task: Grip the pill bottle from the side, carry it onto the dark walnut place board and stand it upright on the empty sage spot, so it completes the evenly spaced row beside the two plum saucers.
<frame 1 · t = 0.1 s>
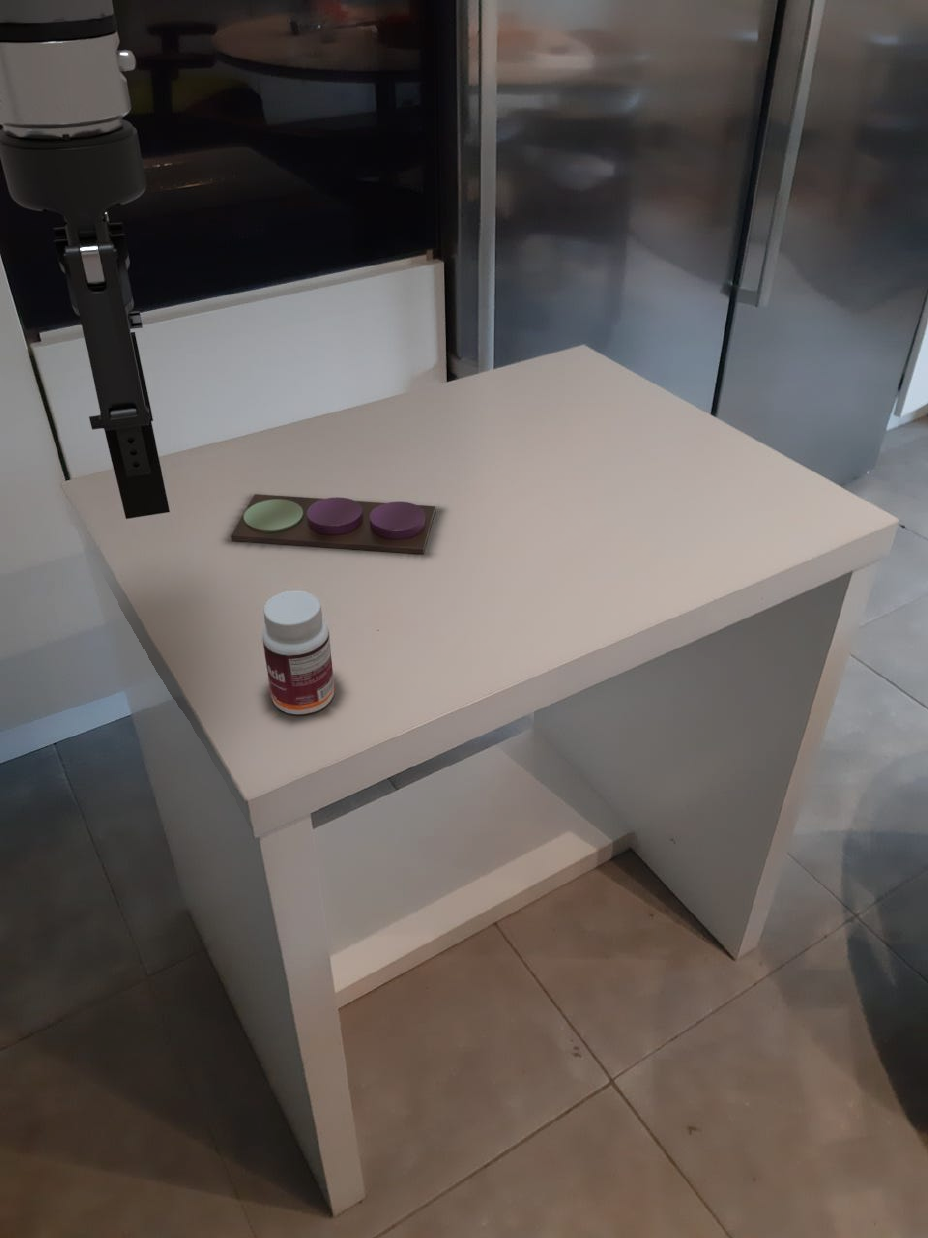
hand: (140, 464, 67), 17 cm above the table, tool pointing down, fingers open, 13 cm apart
pill bottle: (303, 697, 74), on the table
place board: (335, 525, 93), on the table
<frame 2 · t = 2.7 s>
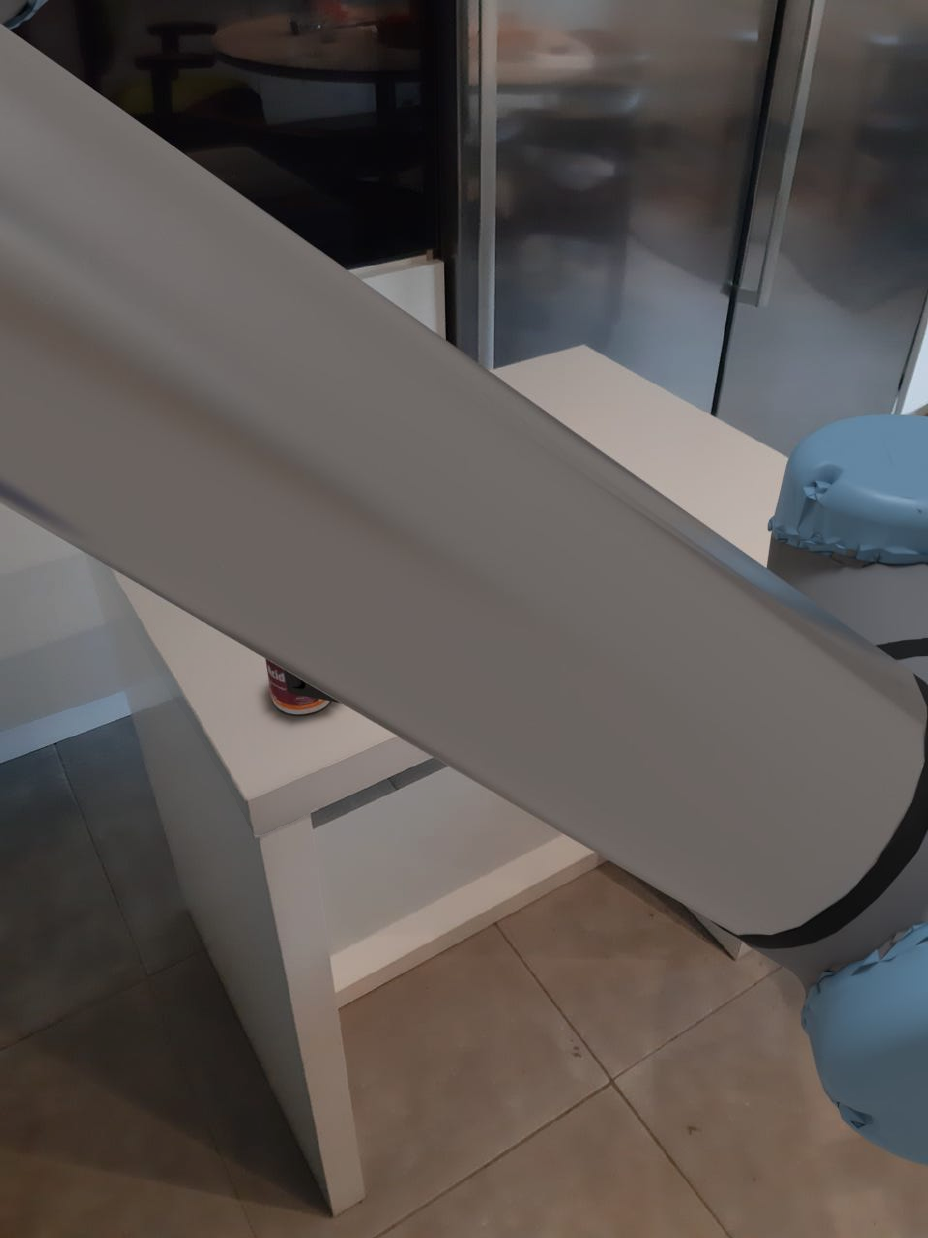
hand: (341, 535, 58), 18 cm above the table, tool horizontal, fingers open, 13 cm apart
nothing on the table moved.
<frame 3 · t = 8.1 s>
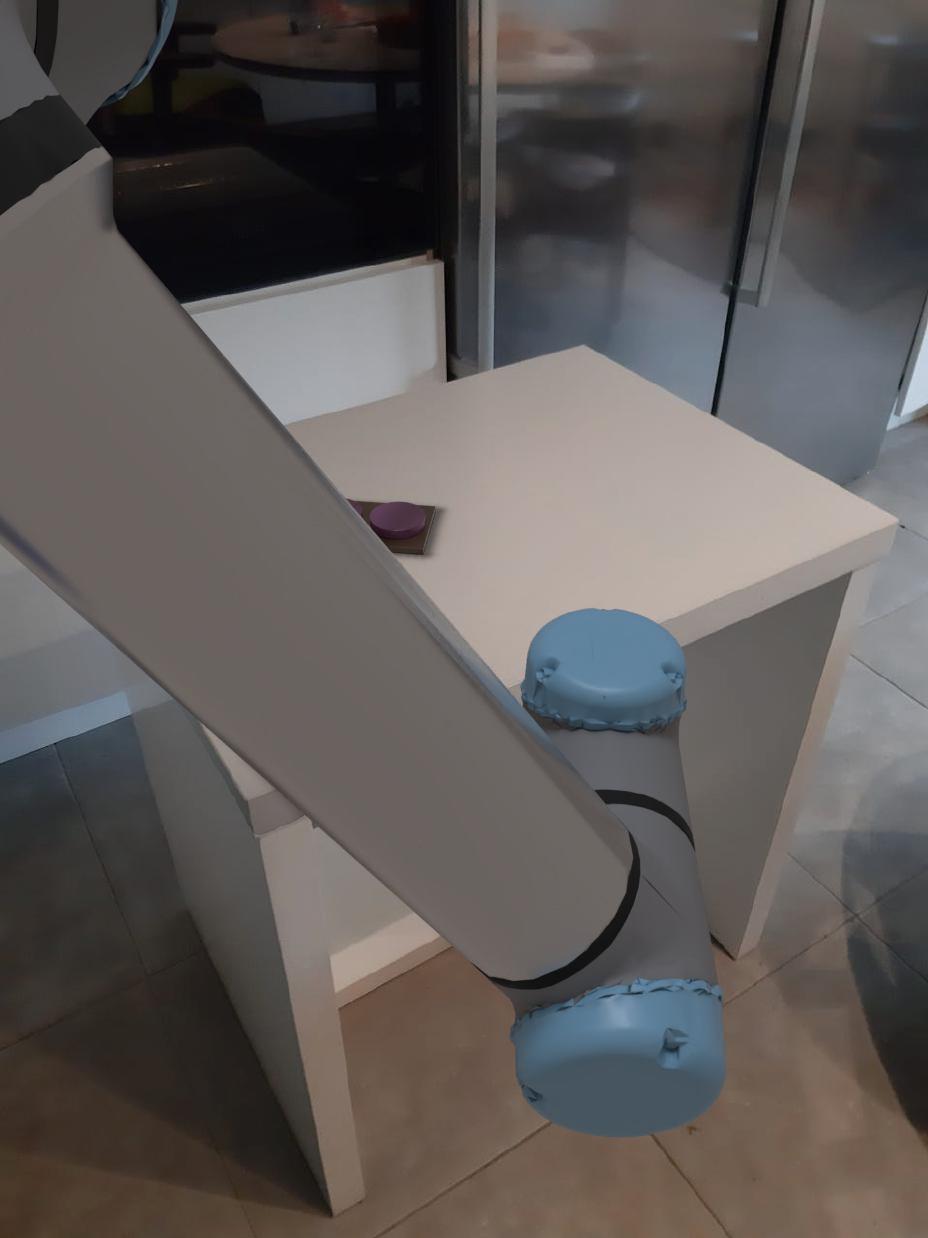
hand: (254, 600, 73), 6 cm above the table, tool horizontal, fingers closed on pill bottle, 5 cm apart
pill bottle: (303, 697, 74), on the table, touching gripper
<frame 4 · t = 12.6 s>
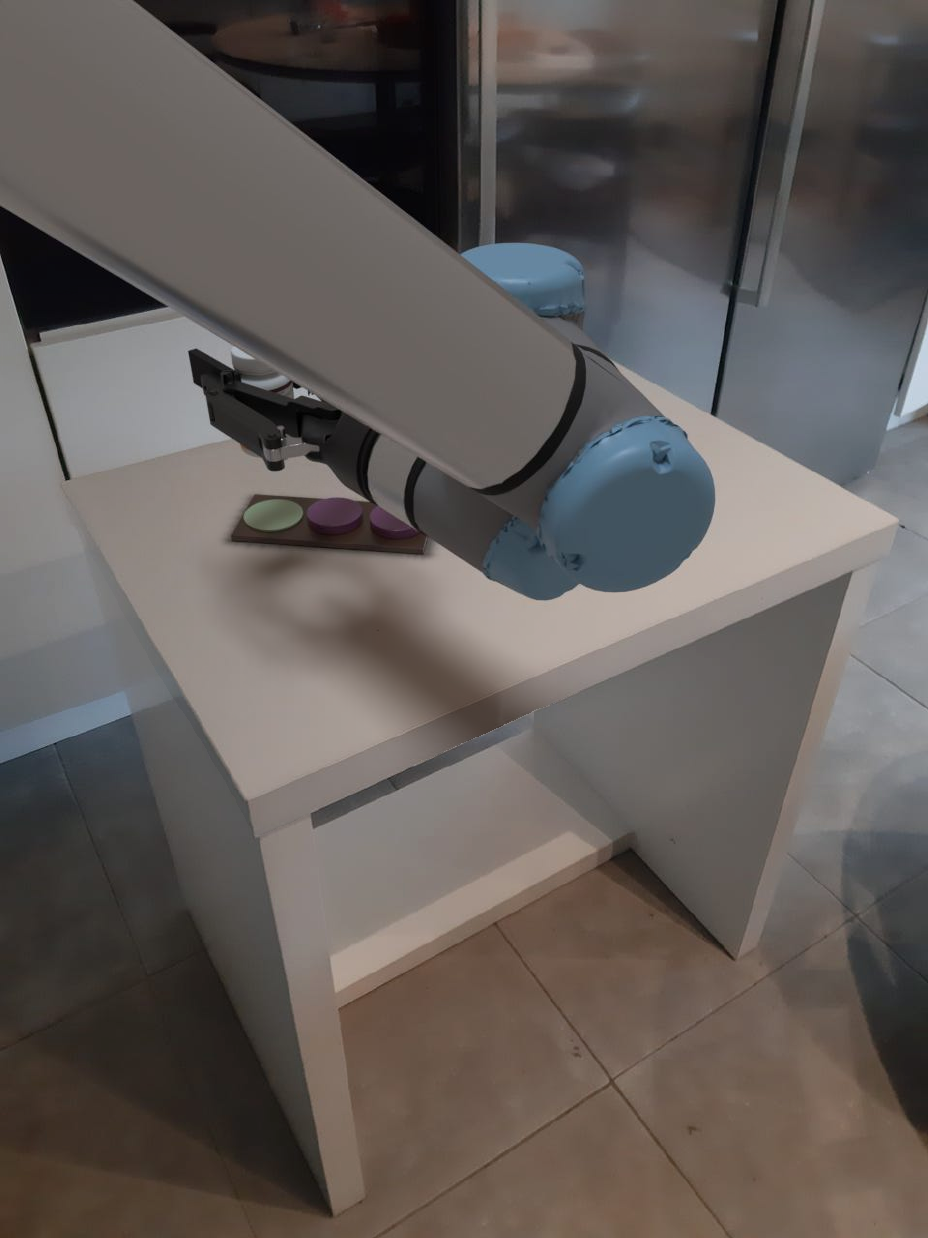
hand: (225, 356, 80), 18 cm above the table, tool horizontal, fingers closed on pill bottle, 5 cm apart
pill bottle: (270, 448, 80), point 12 cm above the table, touching gripper
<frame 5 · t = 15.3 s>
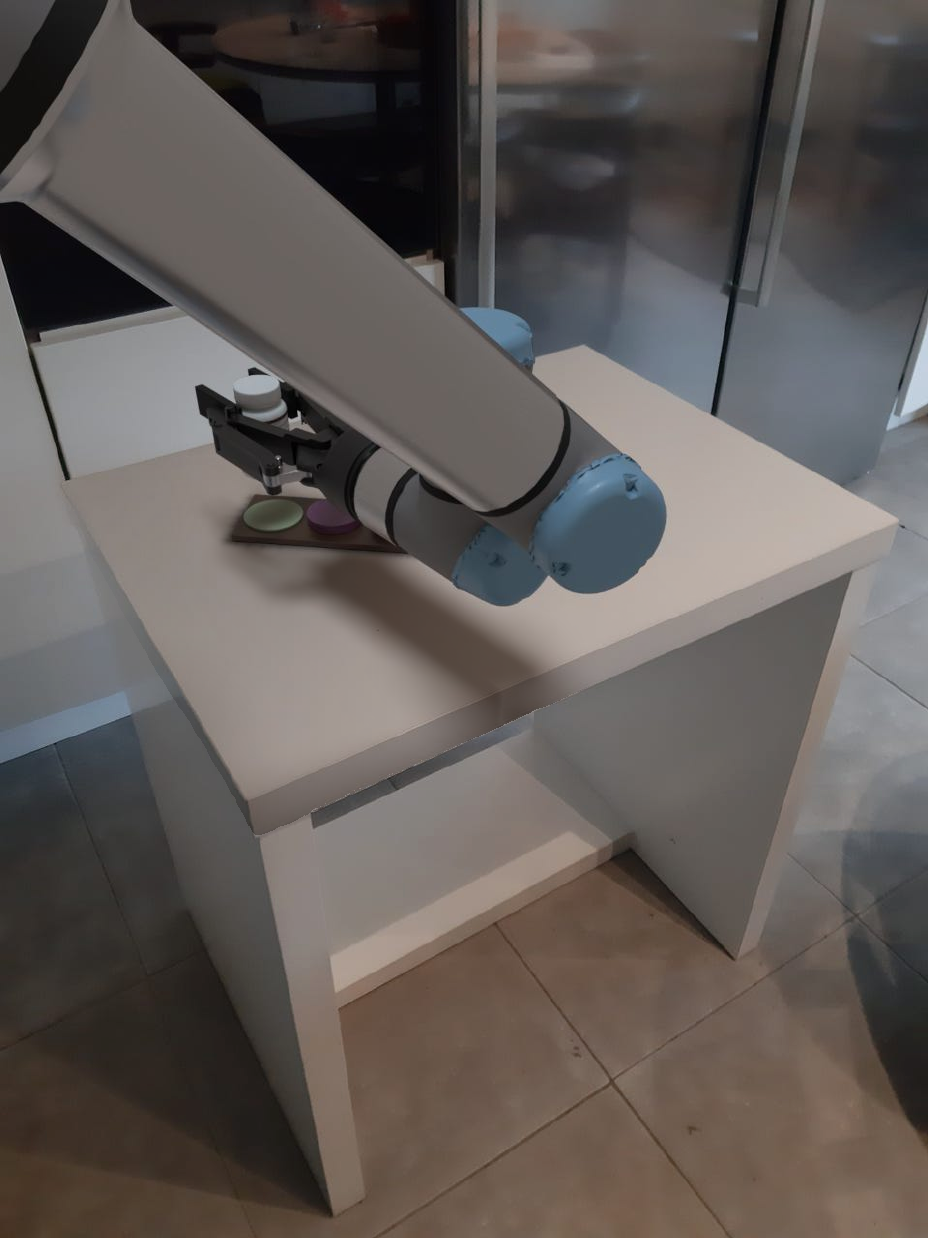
hand: (227, 390, 90), 12 cm above the table, tool horizontal, fingers closed on pill bottle, 5 cm apart
pill bottle: (268, 471, 90), point 5 cm above the table, touching gripper
when the fingers open (7 cm above the table, at t = 17.0 s): pill bottle stays where it is, resting on place board.
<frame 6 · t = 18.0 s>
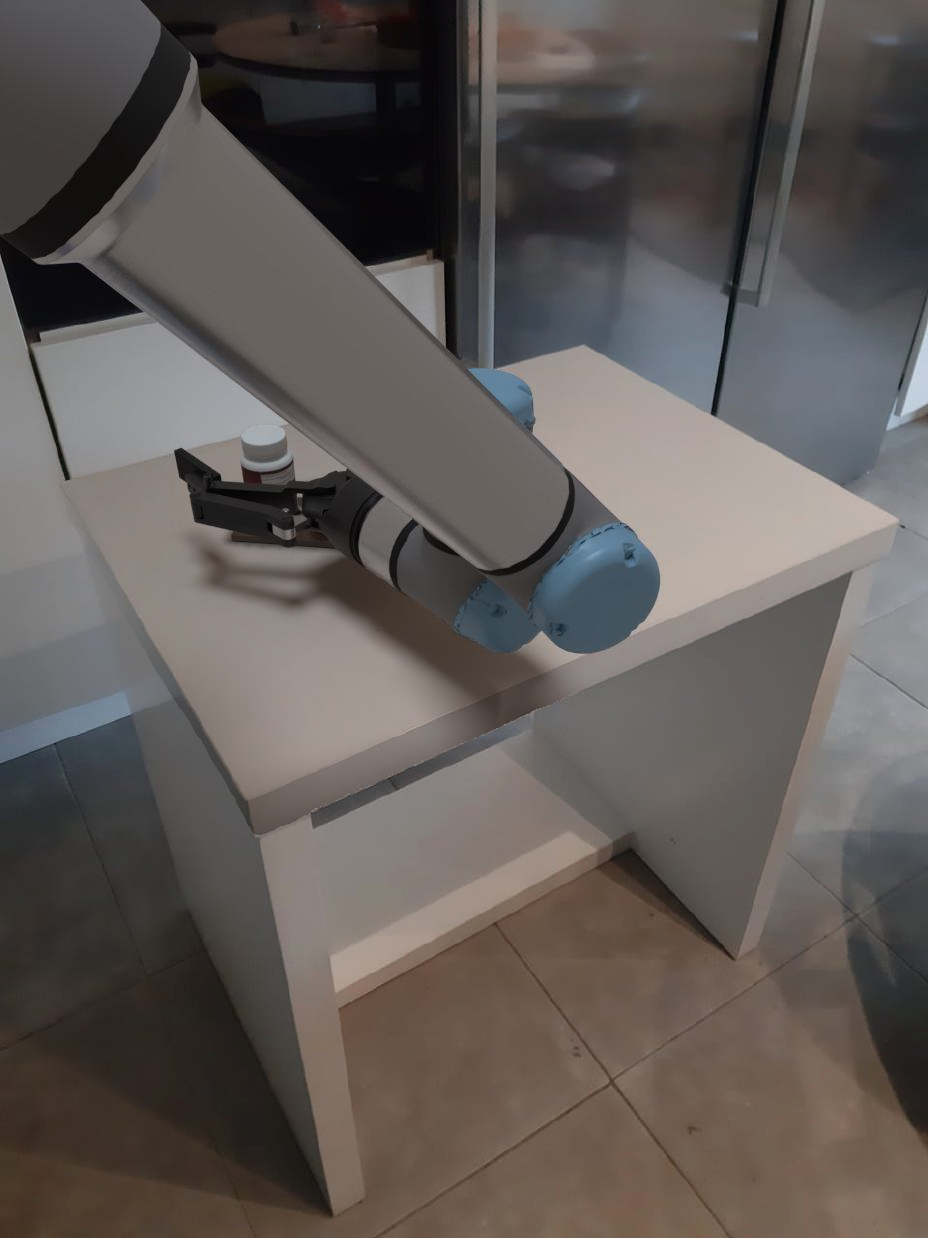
hand: (245, 438, 91), 8 cm above the table, tool horizontal, fingers open, 13 cm apart
pill bottle: (274, 515, 93), point 1 cm above the table, touching place board
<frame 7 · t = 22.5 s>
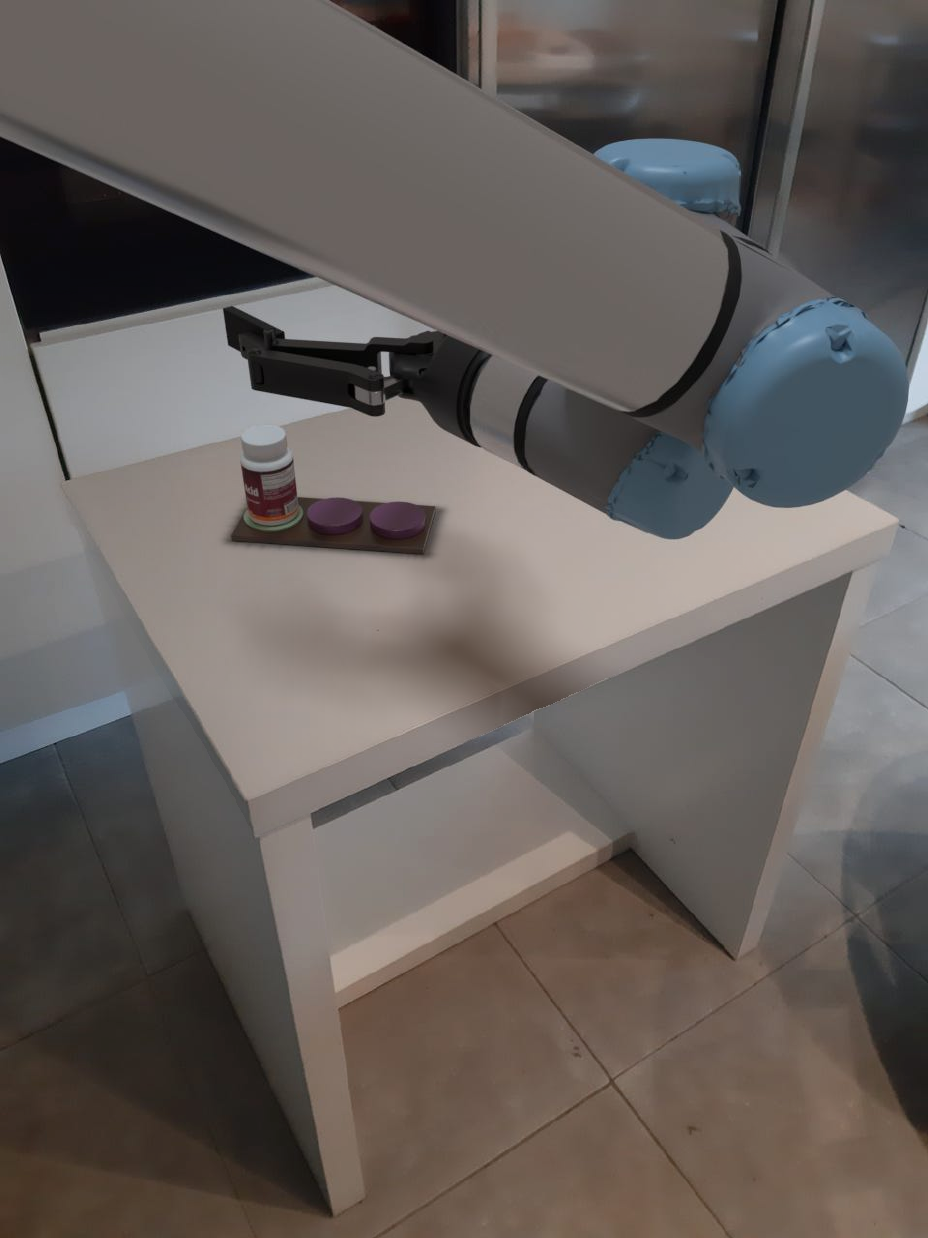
hand: (308, 303, 73), 24 cm above the table, tool horizontal, fingers open, 13 cm apart
nothing on the table moved.
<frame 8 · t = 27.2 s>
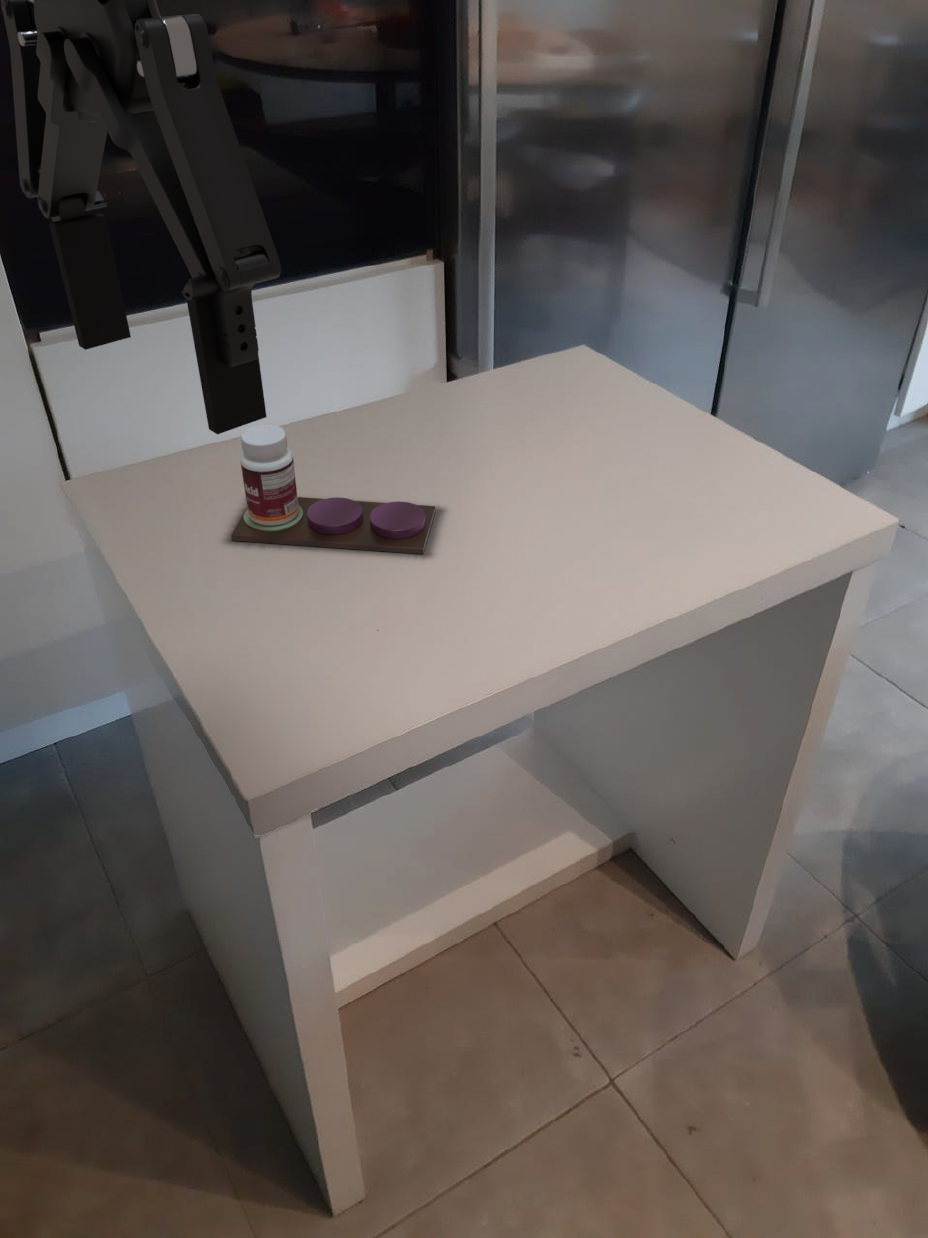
hand: (166, 379, 50), 29 cm above the table, tool pointing down, fingers open, 13 cm apart
nothing on the table moved.
at the end: pill bottle 0.0 cm from the target spot on the place board, point 0.6 cm above the place board's base; pill bottle tilted 0°; the gripper is holding nothing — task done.
